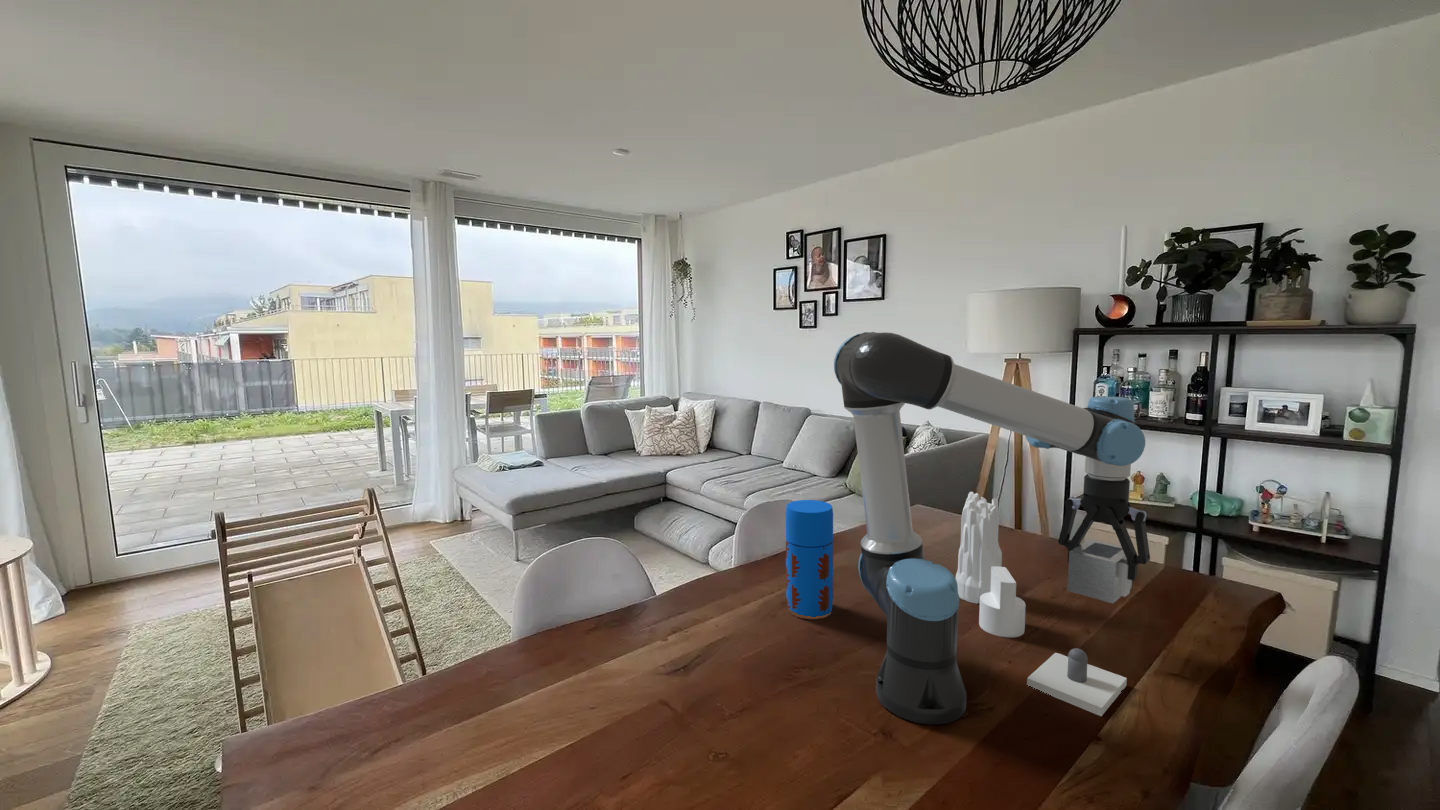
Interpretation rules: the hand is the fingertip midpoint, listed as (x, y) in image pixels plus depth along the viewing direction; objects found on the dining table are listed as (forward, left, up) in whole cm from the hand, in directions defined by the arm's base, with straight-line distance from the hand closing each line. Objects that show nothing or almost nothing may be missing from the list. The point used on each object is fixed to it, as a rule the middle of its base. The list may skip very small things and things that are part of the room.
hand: (1099, 587), depth 120 cm
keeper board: (-17, -2, -13) cm, 21 cm away
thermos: (-29, +51, -13) cm, 60 cm away
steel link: (0, 0, 0) cm, 0 cm away
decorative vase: (+7, +28, -13) cm, 32 cm away
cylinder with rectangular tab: (-5, +17, -13) cm, 22 cm away
